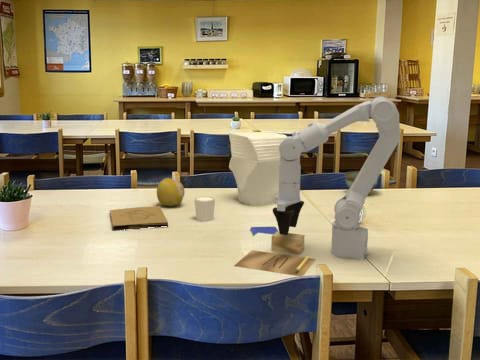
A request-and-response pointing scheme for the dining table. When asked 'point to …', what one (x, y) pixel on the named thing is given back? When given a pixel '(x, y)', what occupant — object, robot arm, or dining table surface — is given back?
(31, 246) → the dining table surface
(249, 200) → the paper stack
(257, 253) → the board
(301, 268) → the pencil
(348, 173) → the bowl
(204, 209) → the shot glass
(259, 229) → the hard drive
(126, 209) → the box
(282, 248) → the block
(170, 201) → the fruit
